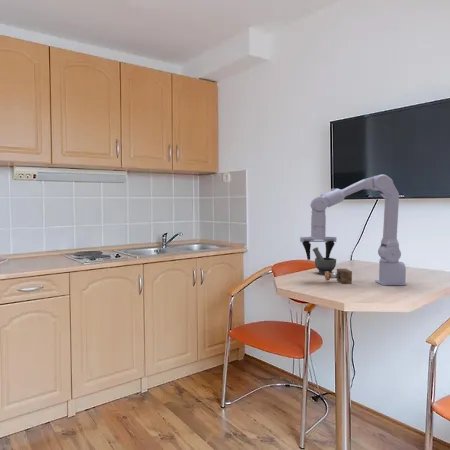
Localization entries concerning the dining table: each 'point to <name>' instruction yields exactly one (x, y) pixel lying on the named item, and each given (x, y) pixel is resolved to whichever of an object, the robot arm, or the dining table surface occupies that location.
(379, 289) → the dining table surface
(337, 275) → the pin
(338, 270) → the block
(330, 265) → the mortar and pestle
